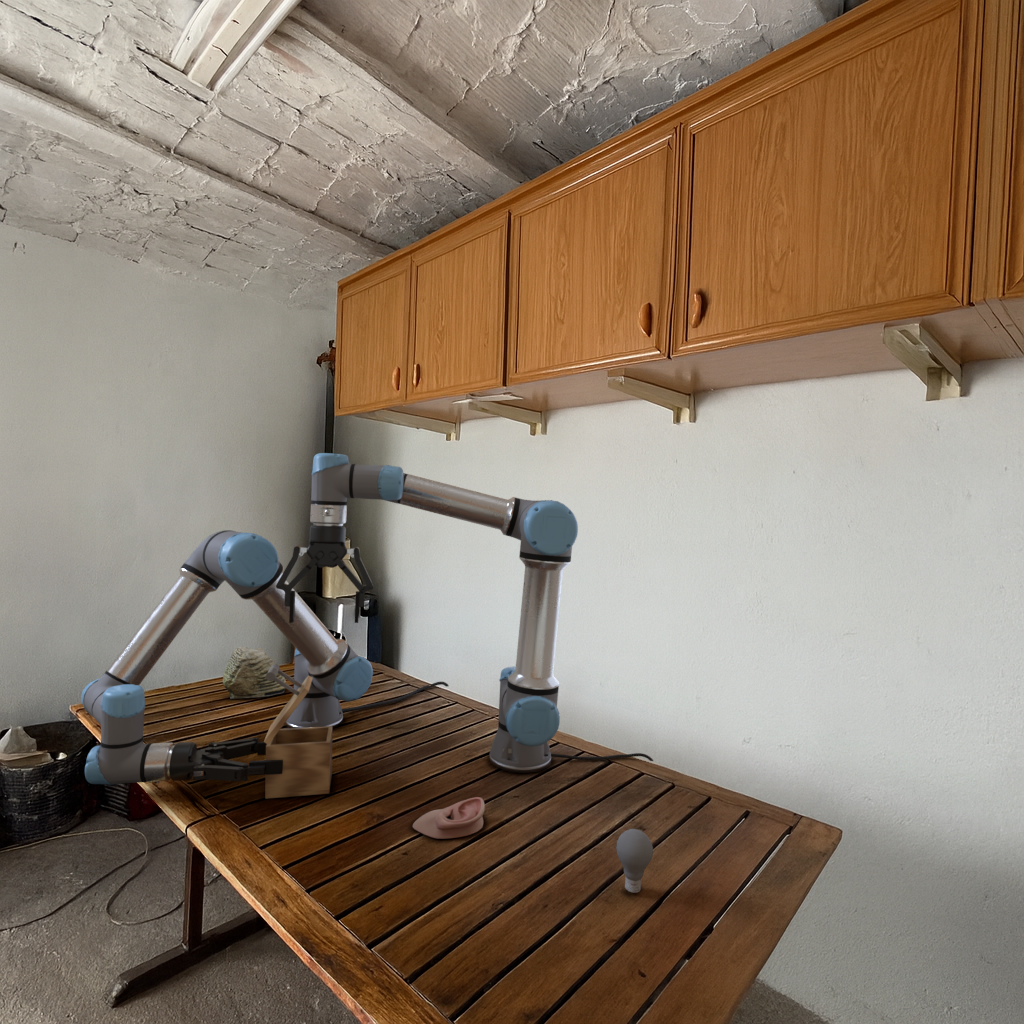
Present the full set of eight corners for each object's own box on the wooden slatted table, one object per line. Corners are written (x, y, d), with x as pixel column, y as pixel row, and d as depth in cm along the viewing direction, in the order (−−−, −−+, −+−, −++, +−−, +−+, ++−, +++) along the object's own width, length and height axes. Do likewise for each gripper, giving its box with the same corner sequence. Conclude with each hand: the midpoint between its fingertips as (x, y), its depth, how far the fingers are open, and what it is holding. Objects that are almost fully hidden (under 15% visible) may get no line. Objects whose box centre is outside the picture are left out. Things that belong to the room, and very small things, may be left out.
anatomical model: (407, 813, 120) (427, 787, 131) (406, 834, 120) (426, 806, 131) (475, 823, 117) (489, 796, 129) (474, 845, 117) (488, 815, 129)
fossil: (218, 695, 195) (220, 647, 195) (278, 685, 208) (279, 640, 207) (228, 703, 189) (230, 653, 188) (289, 692, 201) (290, 645, 201)
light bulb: (610, 879, 108) (613, 822, 108) (644, 879, 109) (647, 822, 109) (619, 902, 102) (622, 840, 102) (655, 901, 103) (658, 840, 103)
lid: (312, 678, 143) (278, 655, 141) (308, 691, 133) (272, 667, 131) (275, 727, 141) (240, 705, 139) (268, 744, 132) (230, 721, 130)
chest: (331, 773, 144) (332, 725, 144) (329, 793, 135) (329, 742, 134) (272, 778, 141) (272, 729, 141) (265, 798, 132) (265, 746, 132)
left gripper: (187, 757, 143) (291, 753, 148) (154, 805, 121) (277, 797, 126) (188, 724, 143) (292, 721, 148) (156, 766, 121) (279, 760, 126)
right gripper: (264, 523, 131) (261, 625, 132) (387, 527, 137) (383, 625, 137) (270, 521, 139) (266, 618, 139) (386, 525, 144) (382, 618, 145)
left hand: (285, 756), depth 137 cm, fingers closed on chest, 10 cm apart
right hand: (324, 621), depth 138 cm, fingers open, 13 cm apart
